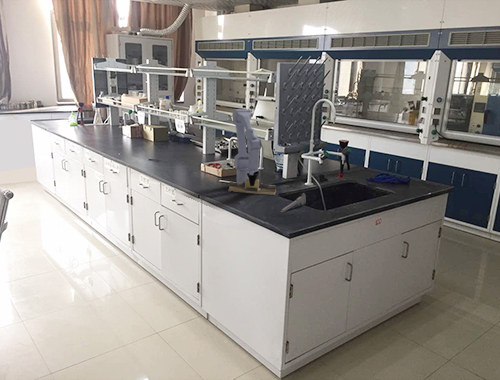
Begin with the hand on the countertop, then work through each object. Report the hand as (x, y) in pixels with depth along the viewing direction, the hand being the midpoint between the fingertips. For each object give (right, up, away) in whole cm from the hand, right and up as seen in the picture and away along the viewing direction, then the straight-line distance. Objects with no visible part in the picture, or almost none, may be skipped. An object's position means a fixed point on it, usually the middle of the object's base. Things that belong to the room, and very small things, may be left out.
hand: (252, 184), depth 231 cm
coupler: (0, -2, +1) cm, 2 cm away
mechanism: (0, -4, +1) cm, 4 cm away
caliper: (+20, -12, -25) cm, 34 cm away
